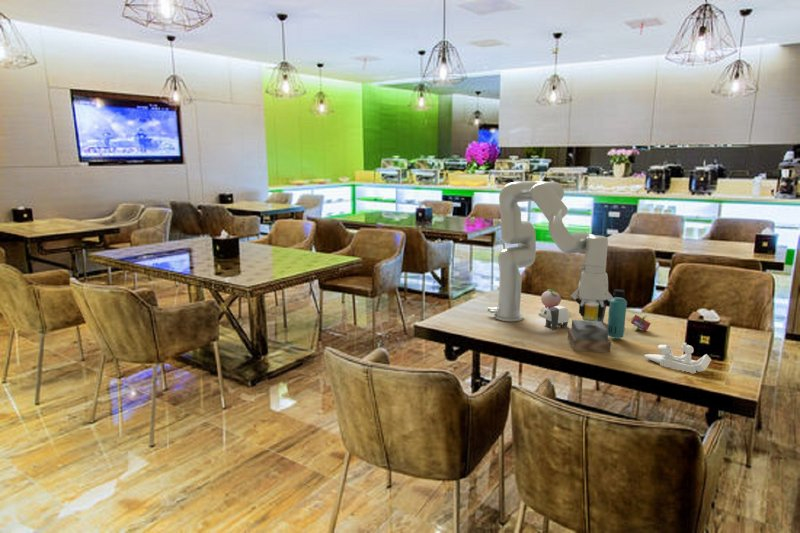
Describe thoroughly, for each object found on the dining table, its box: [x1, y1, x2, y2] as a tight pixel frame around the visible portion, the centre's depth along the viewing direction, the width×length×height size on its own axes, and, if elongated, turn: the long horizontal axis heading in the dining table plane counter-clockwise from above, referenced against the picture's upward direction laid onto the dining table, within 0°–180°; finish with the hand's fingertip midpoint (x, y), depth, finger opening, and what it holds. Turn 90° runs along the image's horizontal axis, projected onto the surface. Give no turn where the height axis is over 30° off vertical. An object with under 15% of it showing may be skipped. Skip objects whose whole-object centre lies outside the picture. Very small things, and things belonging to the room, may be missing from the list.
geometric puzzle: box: [630, 314, 652, 333], centre depth 216 cm, size 7×7×8 cm
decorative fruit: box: [540, 288, 562, 308], centre depth 244 cm, size 9×8×10 cm
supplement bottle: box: [582, 300, 599, 322], centre depth 196 cm, size 5×5×10 cm
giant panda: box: [538, 305, 570, 330], centre depth 219 cm, size 15×6×10 cm, turn 115°
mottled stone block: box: [567, 319, 612, 353], centre depth 199 cm, size 13×13×8 cm
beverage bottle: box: [606, 289, 628, 339], centre depth 205 cm, size 6×7×20 cm
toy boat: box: [643, 342, 712, 374], centre depth 180 cm, size 11×20×9 cm, turn 51°
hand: (590, 315), depth 197 cm, fingers closed on supplement bottle, 5 cm apart
